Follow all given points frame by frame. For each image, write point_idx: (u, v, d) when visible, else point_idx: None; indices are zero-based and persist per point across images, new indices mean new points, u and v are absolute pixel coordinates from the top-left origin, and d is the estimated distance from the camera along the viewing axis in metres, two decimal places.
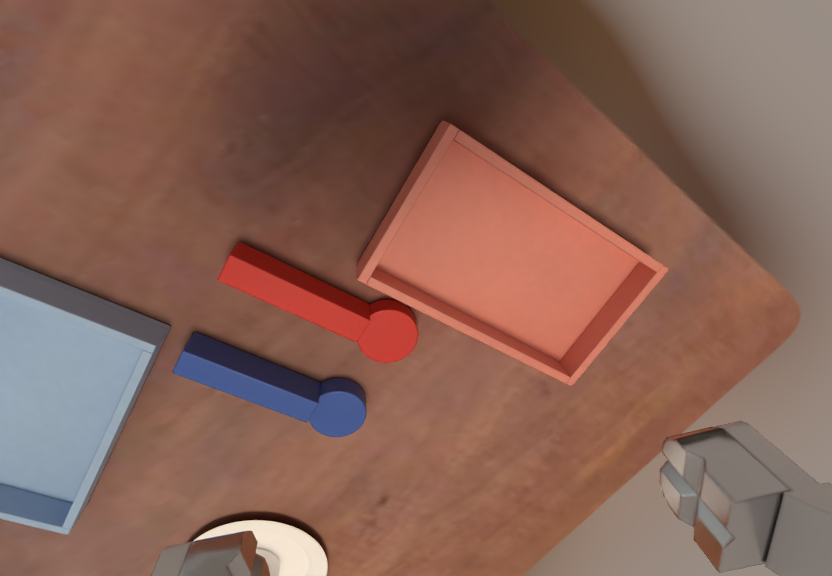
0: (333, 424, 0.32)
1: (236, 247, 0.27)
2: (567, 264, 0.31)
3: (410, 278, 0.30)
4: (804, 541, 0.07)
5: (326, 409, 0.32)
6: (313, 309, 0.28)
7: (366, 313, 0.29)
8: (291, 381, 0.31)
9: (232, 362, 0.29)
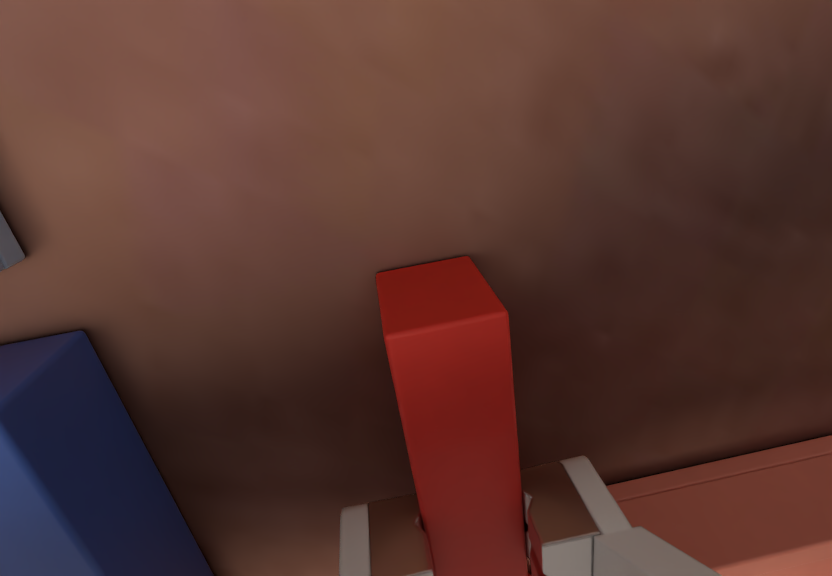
0: None
1: None
2: None
3: None
4: None
5: None
6: None
7: None
8: None
9: (111, 519, 0.08)
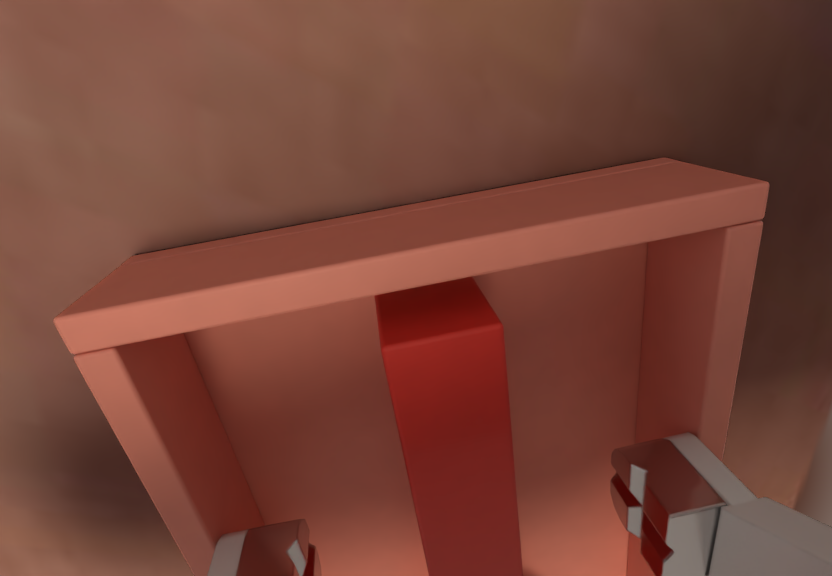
0: None
1: None
2: None
3: (240, 409, 0.09)
4: (742, 556, 0.07)
5: None
6: None
7: None
8: None
9: None
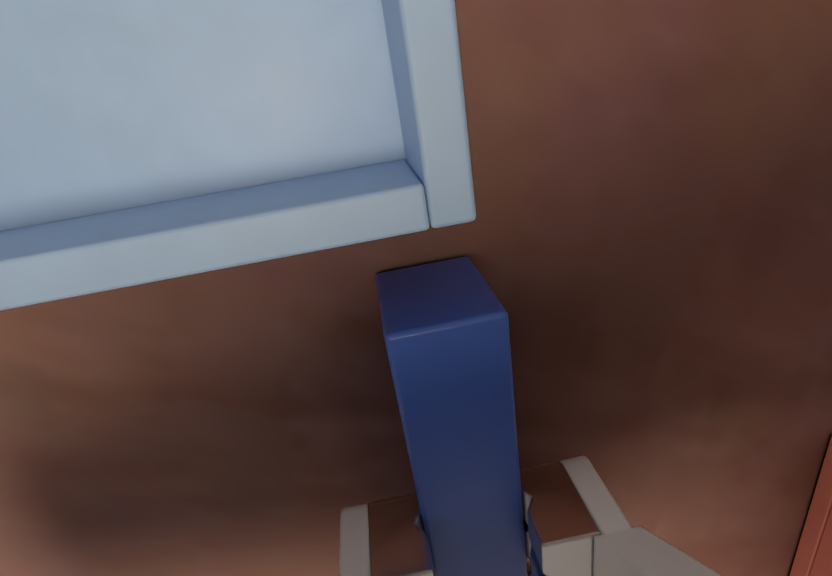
0: None
1: None
2: None
3: None
4: None
5: None
6: None
7: None
8: None
9: None
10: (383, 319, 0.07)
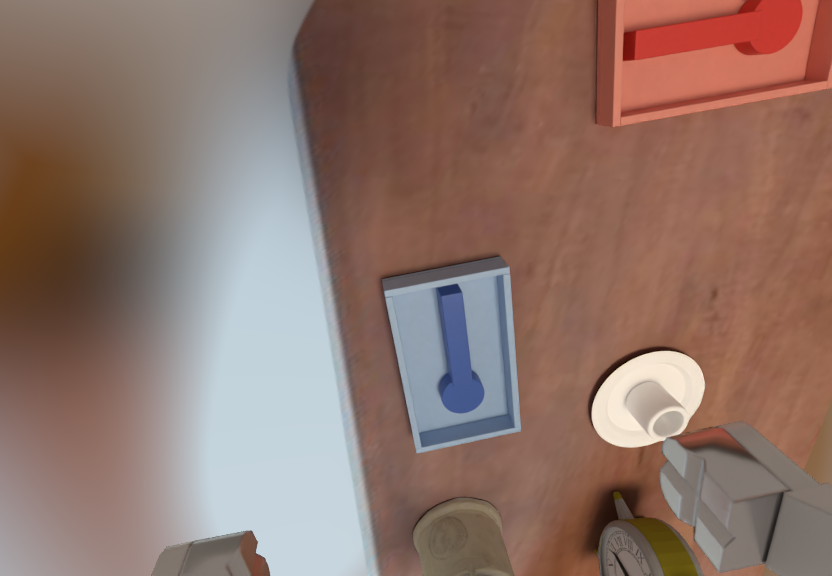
0: (454, 399, 0.42)
1: (626, 32, 0.32)
2: None
3: (642, 103, 0.35)
4: (804, 541, 0.07)
5: (463, 388, 0.41)
6: (713, 33, 0.31)
7: (750, 11, 0.32)
8: None
9: None
10: (439, 293, 0.37)
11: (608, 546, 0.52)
